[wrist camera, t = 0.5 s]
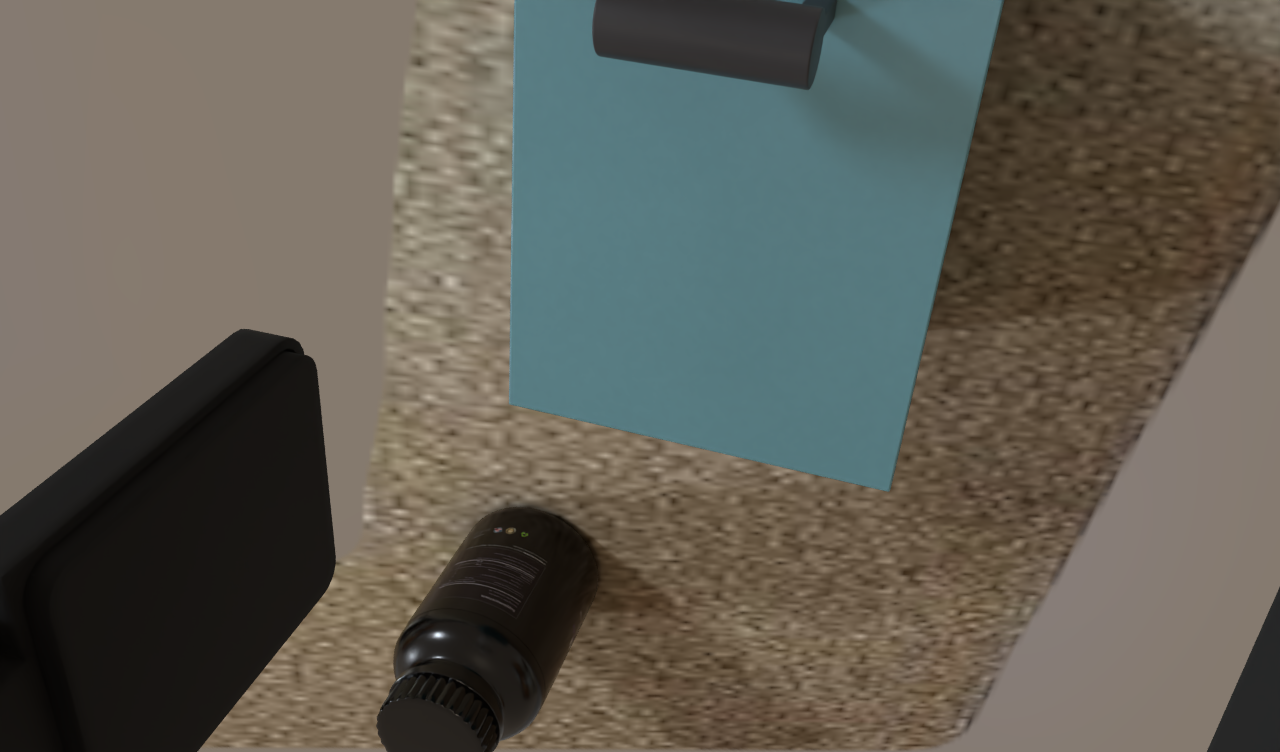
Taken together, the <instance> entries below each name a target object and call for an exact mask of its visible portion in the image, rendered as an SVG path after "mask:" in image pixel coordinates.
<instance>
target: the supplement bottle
mask: <svg viewBox="0 0 1280 752" xmlns="http://www.w3.org/2000/svg"><path fill="white" fill-rule="evenodd" d="M597 587H598V570H597V566H596V562H595V559H594V557H593V554H592V552H591V550H590V549H589V547H588V545H587V544H586V542H585V541H584V540H583V539H582V537H581V536H580V535H579V534H578V533H577V532H576V531H575V530H574V529H573V528H572V527H570V526H569V525H568V524H566V523H565V522H563V521H562V520H560V519H559V518H557V517H555V516H553V515H551V514H548V513H546V512H543V511H540V510H536V509H531V508H523V507H513V508H505V509H501V510H497V511H495V512H492V513H490V514H488V515H487V516H485V517H484V518H482V519H481V520H480V521H479V522H478V523H477V524H476V525H475V526H474V527H473V528H472V530H471V531H470V533H469V534H468V535H467V537H466V538H465V540H464V541H463V543H462V544H461V546H460V547H459V548H458V550H457V551H456V553H455V554H454V556H453V557H452V559H451V560H450V562H449V563H448V565H447V566H446V568H445V569H444V571H443V572H442V574H441V575H440V576H439V578H438V579H437V581H436V582H435V584H434V585H433V587H432V588H431V590H430V591H429V593H428V594H427V596H426V597H425V599H424V600H423V602H422V603H421V604H420V606H419V607H418V609H417V610H416V612H415V613H414V615H413V616H412V618H411V619H410V621H409V622H408V624H407V625H406V627H405V629H404V630H403V632H402V633H401V635H400V637H399V639H398V641H397V643H396V646H395V650H394V660H393V666H394V674H395V679H396V681H395V682H394V684H393V685H392V687H391V689H390V692H389V696H388V697H387V699H386V700H385V702H384V703H383V705H382V707H381V709H380V712H379V714H378V716H377V721H378V722H377V725H376V726H377V729H378V735H379V737H380V738H381V743H382V744H383V745H384V746H385V748H386V751H387V752H493V751H494V750H495V748H496V747H497V745H498V743H499V741H501V740H505V739H508V738H510V737H512V736H514V735H516V734H518V733H520V732H521V731H523V730H524V729H526V728H527V727H528V726H529V725H530V724H531V723H532V722H533V720H534V719H535V717H536V716H537V714H538V713H539V711H540V709H541V707H542V705H543V703H544V701H545V699H546V697H547V695H548V693H549V691H550V689H551V687H552V685H553V683H554V681H555V679H556V677H557V675H558V673H559V670H560V668H561V666H562V664H563V662H564V660H565V658H566V656H567V654H568V652H569V650H570V648H571V646H572V644H573V642H574V640H575V638H576V636H577V634H578V632H579V629H580V627H581V625H582V623H583V621H584V619H585V617H586V615H587V613H588V611H589V608H590V606H591V604H592V602H593V600H594V597H595V595H596V591H597Z"/></svg>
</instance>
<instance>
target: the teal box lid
mask: <svg viewBox="0 0 1280 752" xmlns="http://www.w3.org/2000/svg"><path fill="white" fill-rule="evenodd" d="M1003 4H1004V0H515V3H514V78H513V154H512V229H511V304H510V380H509V404H511V405H515V406H519V407H524V408H528V409H532V410H537V411H541V412H545V413H550V414H554V415H558V416H563V417H567V418H571V419H576V420H580V421H584V422H589V423H593V424H597V425H602V426H606V427H610V428H615V429H619V430H623V431H628V432H632V433H636V434H641V435H645V436H649V437H654V438H658V439H662V440H667V441H671V442H675V443H680V444H684V445H688V446H693V447H697V448H701V449H706V450H710V451H714V452H719V453H723V454H727V455H732V456H736V457H740V458H745V459H749V460H753V461H758V462H762V463H766V464H771V465H775V466H779V467H784V468H788V469H792V470H797V471H801V472H805V473H810V474H814V475H818V476H823V477H827V478H831V479H836V480H840V481H844V482H849V483H853V484H857V485H862V486H866V487H870V488H875V489H879V490H883V491H890V489H891V485H892V481H893V476H894V472H895V468H896V464H897V459H898V455H899V451H900V446H901V442H902V438H903V433H904V429H905V425H906V421H907V416H908V412H909V408H910V403H911V399H912V395H913V391H914V386H915V382H916V378H917V373H918V369H919V365H920V360H921V356H922V352H923V348H924V343H925V339H926V335H927V330H928V326H929V322H930V317H931V313H932V309H933V305H934V300H935V296H936V292H937V287H938V283H939V279H940V275H941V270H942V266H943V262H944V257H945V253H946V249H947V244H948V240H949V236H950V232H951V227H952V223H953V219H954V214H955V210H956V206H957V202H958V197H959V193H960V189H961V184H962V180H963V176H964V171H965V167H966V163H967V159H968V154H969V150H970V146H971V141H972V137H973V133H974V129H975V124H976V120H977V116H978V111H979V107H980V103H981V98H982V94H983V90H984V86H985V81H986V77H987V73H988V68H989V64H990V60H991V56H992V51H993V47H994V43H995V38H996V34H997V30H998V25H999V21H1000V17H1001V13H1002V8H1003Z"/></svg>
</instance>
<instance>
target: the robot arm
mask: <svg viewBox="0 0 1280 752" xmlns="http://www.w3.org/2000/svg"><path fill="white" fill-rule="evenodd" d="M335 563H336V555H335V546H334V535H333V526H332V515H331V505H330V495H329V485H328V475H327V465H326V456H325V445H324V436H323V425H322V415H321V406H320V395H319V385H318V376H317V369H316V364H315V362H314V360H313V359H312V358H311V357H309V356H307V355H304V351H303V348H302V347H301V345H300V343H299V342H298V341H296V340H295V339H293V338H288V337H283V336H278V335H274V334H269V333H264V332H259V331H254V330H250V329H240V330H239V331H237V332H235V333H233V334H232V335H230V336H229V337H228V338H227V339H225V340H224V341H223V342H222V343H220V344H219V345H218V346H217V347H215V348H214V349H213V350H211V351H210V352H209V353H208V354H206V355H205V356H204V357H202V358H201V359H200V360H199V361H197V362H196V363H195V364H193V365H192V366H191V367H190V368H188V369H187V370H186V371H184V372H183V373H182V374H181V375H179V376H178V377H177V378H176V379H174V380H173V381H172V382H170V383H169V384H168V385H167V386H165V387H164V388H163V389H161V390H160V391H159V392H158V393H156V394H155V395H154V396H152V397H151V398H150V399H149V400H147V401H146V402H145V403H144V404H142V405H141V406H140V407H139V408H137V409H136V410H135V411H133V412H132V413H131V414H129V415H128V416H127V417H126V418H125V419H123V420H122V421H121V422H119V423H118V424H117V425H116V426H114V427H113V428H112V429H110V430H109V431H108V432H106V434H104V435H103V436H101V437H100V438H99V439H98V440H96V441H95V442H94V443H92V444H91V445H90V446H89V447H87V448H86V449H85V450H83V451H82V452H81V453H80V454H78V455H77V456H76V457H75V458H73V459H72V460H71V461H70V462H68V463H67V464H66V465H65V466H63V467H62V468H60V469H59V470H58V471H57V472H55V473H54V474H53V475H52V476H50V477H49V478H48V479H46V480H45V481H44V482H43V483H41V484H40V485H39V486H37V487H36V488H35V489H34V490H32V491H31V492H30V493H29V494H27V495H26V496H25V497H23V498H22V499H21V500H20V501H18V502H17V503H16V504H14V505H13V506H12V507H11V508H9V509H8V510H7V511H5V512H4V513H3V514H2V515H0V752H197V751H198V750H199V749H200V748H201V746H202V745H203V744H204V743H205V741H206V740H207V739H208V738H209V736H210V735H211V734H212V733H213V731H214V730H215V729H216V728H217V727H218V725H219V724H220V723H221V722H222V720H223V719H224V718H225V717H226V715H227V714H228V713H229V712H230V710H231V709H232V708H233V707H234V705H235V704H236V703H237V702H238V700H239V699H240V698H241V697H242V695H243V694H244V693H245V692H246V690H247V689H248V688H249V687H250V685H251V684H252V683H253V682H254V680H255V679H256V678H257V677H258V675H259V674H260V673H261V672H262V670H263V669H264V668H265V667H266V665H267V664H268V663H269V662H270V660H271V659H272V658H273V657H274V655H275V654H276V653H277V652H278V650H279V649H280V648H281V647H282V646H283V644H284V643H285V642H286V641H287V639H288V638H289V637H290V636H291V634H292V633H293V632H294V631H295V629H296V628H297V627H298V626H299V624H300V623H301V622H302V621H303V619H304V618H305V617H306V616H307V614H308V613H309V612H310V611H311V609H312V608H313V607H314V606H315V604H316V603H317V602H318V601H319V599H320V598H321V597H322V596H323V594H324V593H325V591H326V590H327V588H328V587H329V584H330V582H331V580H332V577H333V574H334V570H335ZM1207 752H1280V588H1279V590H1278V593H1277V595H1276V597H1275V599H1274V602H1273V604H1272V606H1271V608H1270V611H1269V613H1268V615H1267V617H1266V619H1265V622H1264V624H1263V626H1262V629H1261V631H1260V633H1259V635H1258V637H1257V640H1256V642H1255V644H1254V646H1253V649H1252V651H1251V653H1250V655H1249V658H1248V660H1247V662H1246V665H1245V667H1244V669H1243V671H1242V674H1241V676H1240V678H1239V680H1238V683H1237V685H1236V687H1235V689H1234V692H1233V694H1232V696H1231V699H1230V701H1229V703H1228V705H1227V708H1226V710H1225V712H1224V714H1223V716H1222V719H1221V721H1220V723H1219V726H1218V728H1217V730H1216V732H1215V735H1214V737H1213V739H1212V741H1211V744H1210V746H1209V748H1208V750H1207Z"/></svg>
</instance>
